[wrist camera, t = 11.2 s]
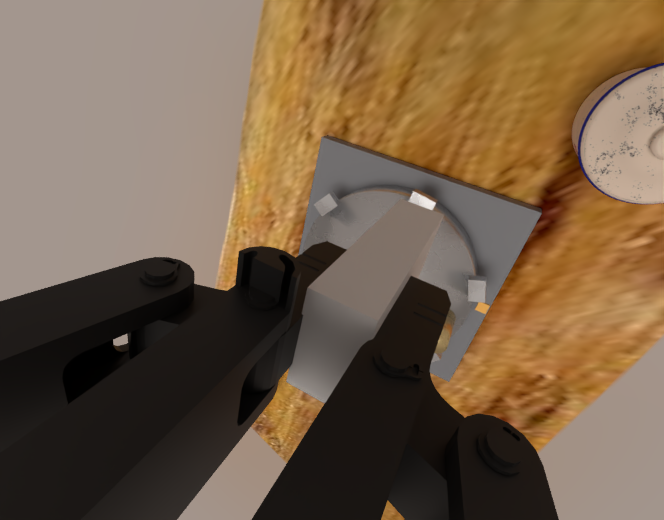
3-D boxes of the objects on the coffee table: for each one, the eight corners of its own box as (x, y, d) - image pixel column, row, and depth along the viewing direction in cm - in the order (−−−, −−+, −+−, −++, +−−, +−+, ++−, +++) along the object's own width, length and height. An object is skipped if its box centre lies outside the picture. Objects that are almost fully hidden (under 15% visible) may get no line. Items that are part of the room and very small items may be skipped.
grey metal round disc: (292, 290, 54) (259, 320, 47) (349, 142, 41) (315, 155, 35) (421, 372, 50) (404, 417, 43) (526, 235, 38) (525, 269, 31)
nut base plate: (327, 135, 44) (321, 137, 43) (541, 208, 38) (541, 213, 36) (294, 297, 56) (288, 303, 55) (451, 374, 50) (448, 382, 48)
